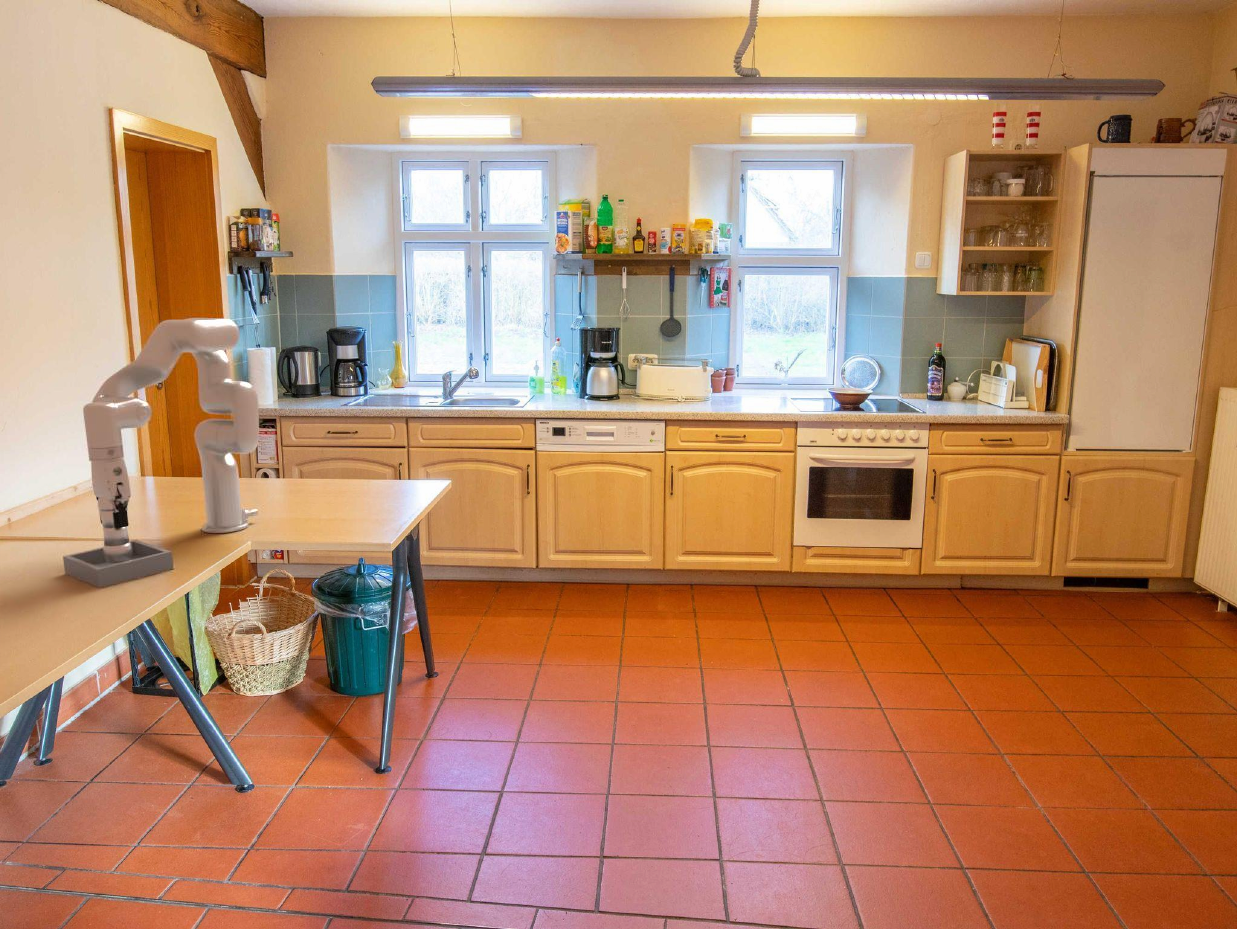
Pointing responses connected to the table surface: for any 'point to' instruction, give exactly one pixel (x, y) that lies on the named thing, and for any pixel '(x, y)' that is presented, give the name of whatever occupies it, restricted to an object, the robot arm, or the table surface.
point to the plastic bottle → (113, 535)
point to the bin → (117, 565)
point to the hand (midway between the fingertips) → (114, 524)
